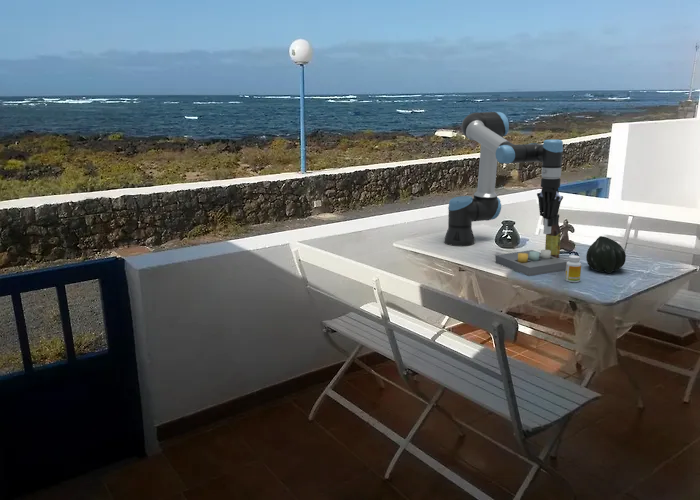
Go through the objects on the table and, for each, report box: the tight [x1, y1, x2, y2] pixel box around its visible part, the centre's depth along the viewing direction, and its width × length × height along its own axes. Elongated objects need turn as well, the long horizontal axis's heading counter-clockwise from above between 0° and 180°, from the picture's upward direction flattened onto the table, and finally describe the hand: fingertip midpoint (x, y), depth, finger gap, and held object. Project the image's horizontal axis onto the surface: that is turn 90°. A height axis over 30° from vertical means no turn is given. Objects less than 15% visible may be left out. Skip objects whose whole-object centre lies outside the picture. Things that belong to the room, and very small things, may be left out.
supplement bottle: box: [564, 254, 582, 283], centre depth 205 cm, size 5×5×10 cm
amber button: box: [518, 253, 528, 263], centre depth 222 cm, size 4×4×4 cm
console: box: [494, 249, 569, 277], centre depth 226 cm, size 22×20×4 cm
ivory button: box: [540, 249, 551, 260], centre depth 226 cm, size 4×4×4 cm
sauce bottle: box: [544, 213, 562, 259], centre depth 237 cm, size 7×6×20 cm
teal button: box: [529, 250, 541, 262], centre depth 224 cm, size 4×4×4 cm
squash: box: [585, 235, 627, 274], centre depth 217 cm, size 14×15×15 cm
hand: (547, 233), depth 223 cm, fingers closed
